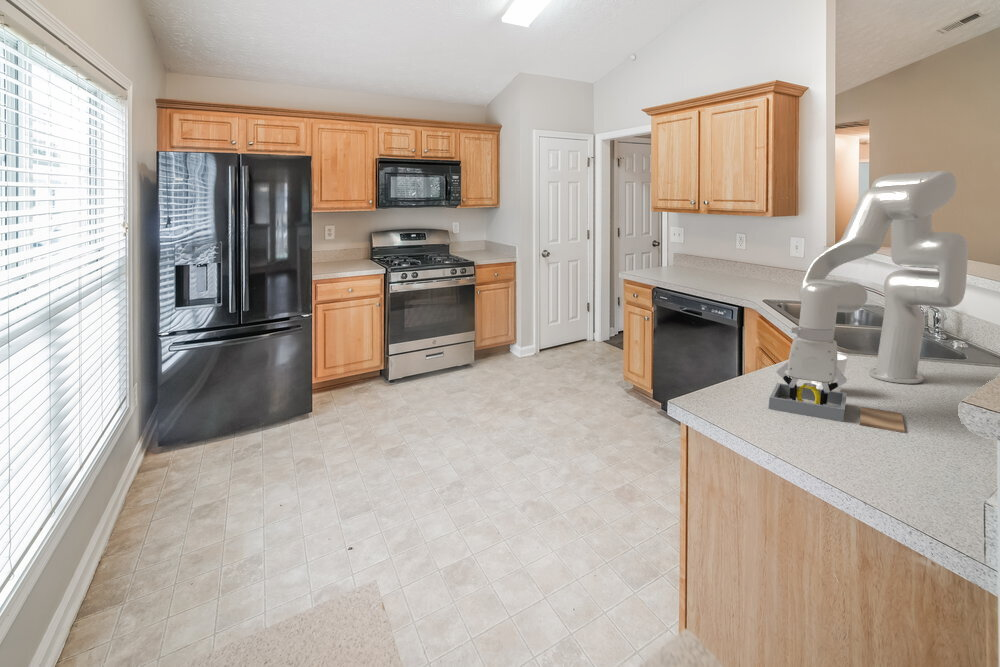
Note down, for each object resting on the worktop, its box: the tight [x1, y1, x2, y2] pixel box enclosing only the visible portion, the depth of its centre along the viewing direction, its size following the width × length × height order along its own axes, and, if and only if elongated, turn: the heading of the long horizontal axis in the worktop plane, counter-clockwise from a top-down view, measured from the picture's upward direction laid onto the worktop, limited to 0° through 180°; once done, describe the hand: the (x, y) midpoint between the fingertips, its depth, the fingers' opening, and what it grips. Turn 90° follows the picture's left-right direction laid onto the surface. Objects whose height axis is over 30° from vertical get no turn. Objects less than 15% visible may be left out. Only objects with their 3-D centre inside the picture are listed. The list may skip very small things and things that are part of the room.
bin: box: [768, 382, 848, 422], centre depth 127 cm, size 14×16×3 cm
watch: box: [796, 382, 821, 404], centre depth 126 cm, size 6×3×6 cm, turn 15°
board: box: [859, 406, 906, 433], centre depth 117 cm, size 12×8×1 cm, turn 144°
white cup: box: [811, 353, 848, 392], centre depth 137 cm, size 8×8×10 cm
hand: (807, 403), depth 127 cm, fingers closed on watch, 5 cm apart
